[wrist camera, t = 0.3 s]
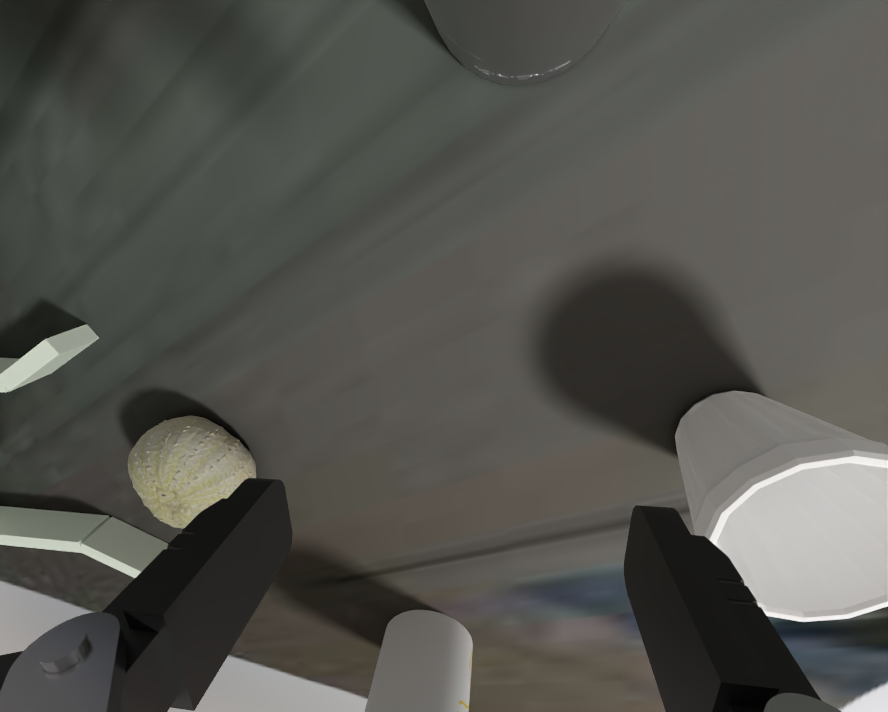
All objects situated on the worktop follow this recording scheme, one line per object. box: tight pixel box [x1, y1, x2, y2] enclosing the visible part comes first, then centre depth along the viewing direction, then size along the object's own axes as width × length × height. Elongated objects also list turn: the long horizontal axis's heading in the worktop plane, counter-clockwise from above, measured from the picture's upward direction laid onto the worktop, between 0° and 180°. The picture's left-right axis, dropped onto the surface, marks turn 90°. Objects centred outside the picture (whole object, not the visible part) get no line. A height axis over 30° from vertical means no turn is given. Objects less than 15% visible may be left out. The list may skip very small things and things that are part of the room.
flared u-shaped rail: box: [0, 324, 168, 578], centre depth 34 cm, size 22×18×3 cm
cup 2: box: [675, 390, 888, 622], centre depth 23 cm, size 10×10×9 cm
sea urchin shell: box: [128, 415, 256, 528], centre depth 32 cm, size 9×8×8 cm
